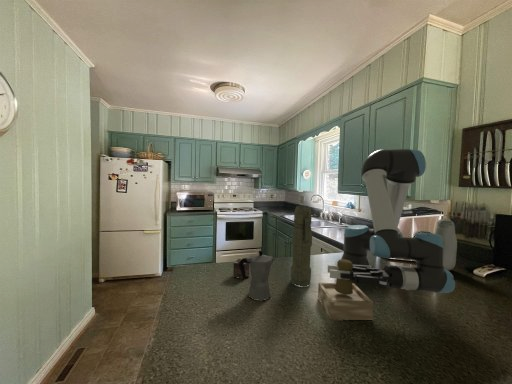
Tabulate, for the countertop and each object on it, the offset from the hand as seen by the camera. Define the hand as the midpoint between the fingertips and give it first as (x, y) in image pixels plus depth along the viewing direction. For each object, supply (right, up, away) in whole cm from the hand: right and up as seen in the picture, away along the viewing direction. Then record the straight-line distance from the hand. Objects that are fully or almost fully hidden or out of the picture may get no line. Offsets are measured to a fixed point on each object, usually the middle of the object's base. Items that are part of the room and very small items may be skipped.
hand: (329, 271), depth 80 cm
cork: (+5, -7, -1) cm, 9 cm away
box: (-34, -12, +25) cm, 43 cm away
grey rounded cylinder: (+76, -14, +41) cm, 88 cm away
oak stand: (+5, -13, 0) cm, 14 cm away
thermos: (-6, -13, +19) cm, 24 cm away
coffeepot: (-26, -13, +7) cm, 30 cm away
